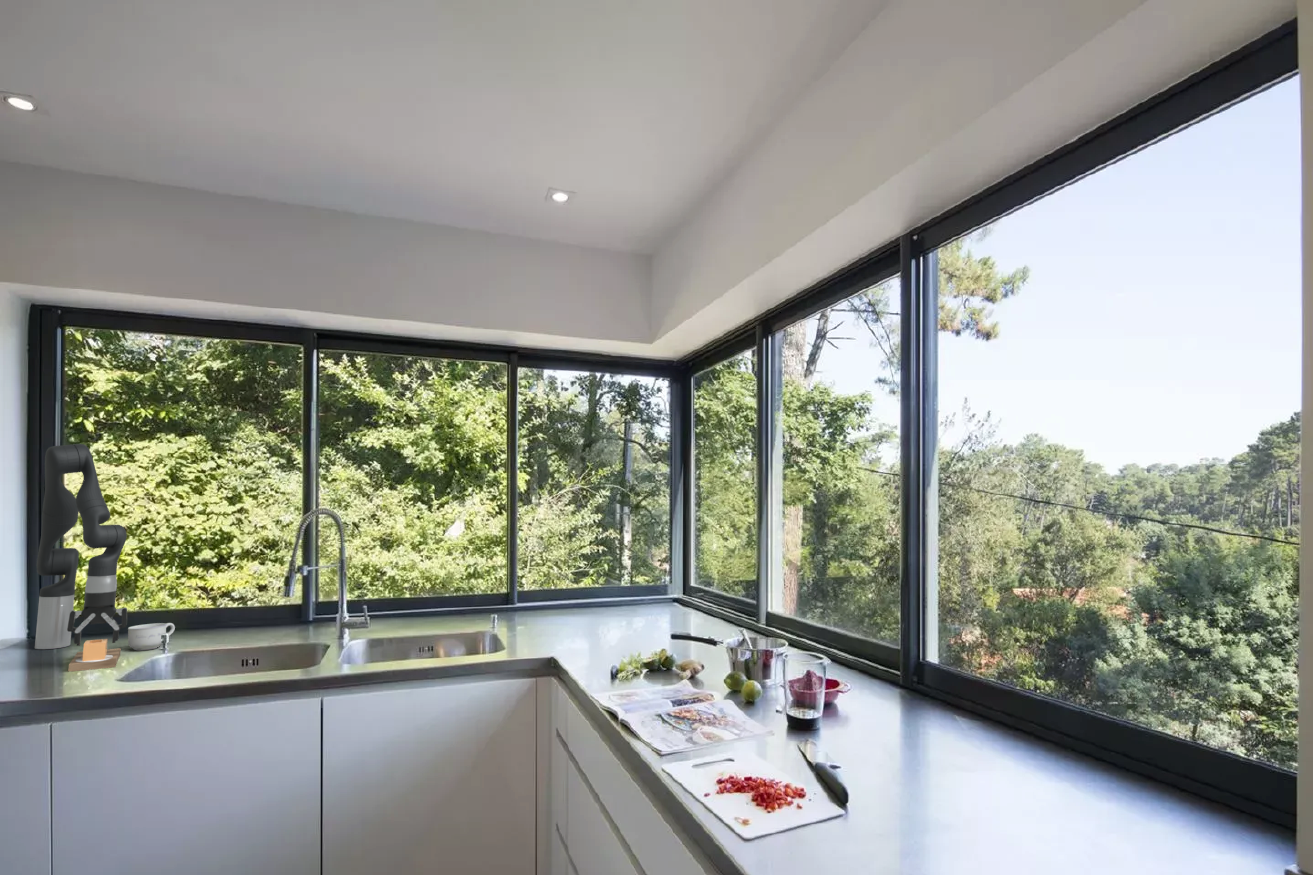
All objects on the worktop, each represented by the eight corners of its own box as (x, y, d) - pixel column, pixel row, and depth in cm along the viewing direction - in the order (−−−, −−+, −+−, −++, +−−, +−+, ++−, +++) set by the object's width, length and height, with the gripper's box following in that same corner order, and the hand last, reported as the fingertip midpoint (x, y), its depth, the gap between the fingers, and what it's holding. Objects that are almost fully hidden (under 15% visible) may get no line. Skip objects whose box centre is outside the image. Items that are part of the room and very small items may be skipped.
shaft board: (77, 658, 223) (78, 640, 224) (120, 654, 230) (121, 637, 230) (68, 671, 207) (69, 652, 207) (115, 667, 213) (116, 648, 213)
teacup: (132, 653, 231) (134, 628, 232) (121, 649, 238) (123, 625, 238) (180, 647, 242) (182, 623, 243) (168, 642, 249) (170, 619, 249)
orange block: (104, 659, 213) (105, 642, 213) (82, 661, 210) (83, 644, 211) (106, 655, 218) (107, 638, 219) (84, 656, 216) (86, 640, 216)
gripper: (69, 593, 209) (64, 648, 208) (128, 590, 217) (124, 643, 216) (72, 589, 215) (67, 643, 214) (130, 587, 223) (126, 639, 222)
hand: (96, 643), depth 215 cm, fingers open, 8 cm apart
